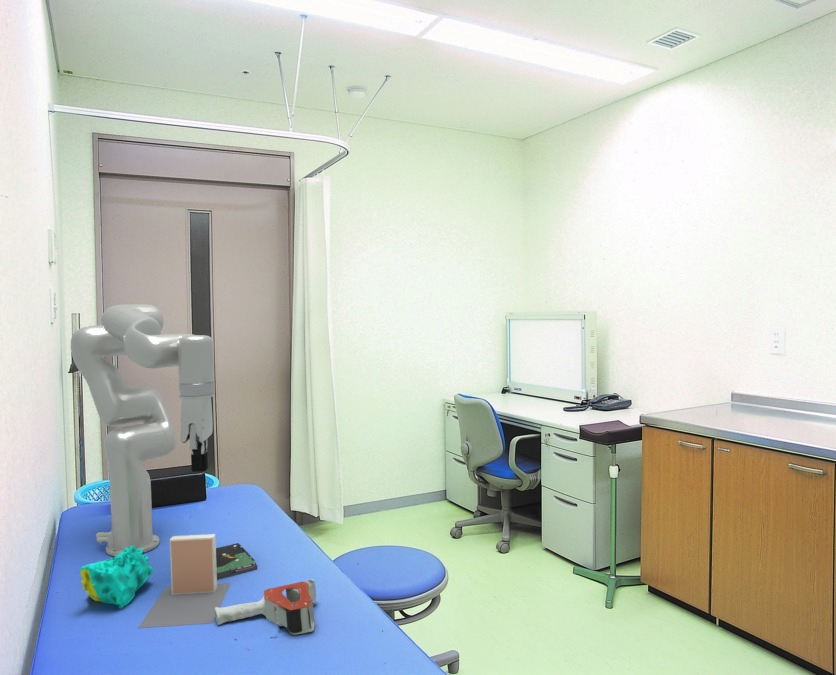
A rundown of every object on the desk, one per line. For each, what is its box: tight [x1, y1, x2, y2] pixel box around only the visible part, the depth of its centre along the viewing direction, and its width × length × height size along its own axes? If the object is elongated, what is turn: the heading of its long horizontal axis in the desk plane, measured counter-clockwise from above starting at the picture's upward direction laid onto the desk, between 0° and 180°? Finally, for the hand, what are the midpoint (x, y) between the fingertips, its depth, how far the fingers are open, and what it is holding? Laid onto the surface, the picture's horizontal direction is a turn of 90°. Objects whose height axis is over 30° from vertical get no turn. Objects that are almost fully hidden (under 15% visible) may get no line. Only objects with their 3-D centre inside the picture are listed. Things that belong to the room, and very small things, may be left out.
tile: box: [169, 533, 218, 595], centre depth 129 cm, size 9×2×12 cm, turn 96°
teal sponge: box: [79, 546, 154, 609], centre depth 128 cm, size 15×12×13 cm
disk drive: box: [216, 542, 258, 581], centre depth 143 cm, size 10×3×15 cm
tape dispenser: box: [214, 578, 317, 636], centre depth 119 cm, size 18×5×20 cm
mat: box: [137, 582, 231, 629], centre depth 124 cm, size 14×17×1 cm
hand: (199, 470), depth 135 cm, fingers closed
